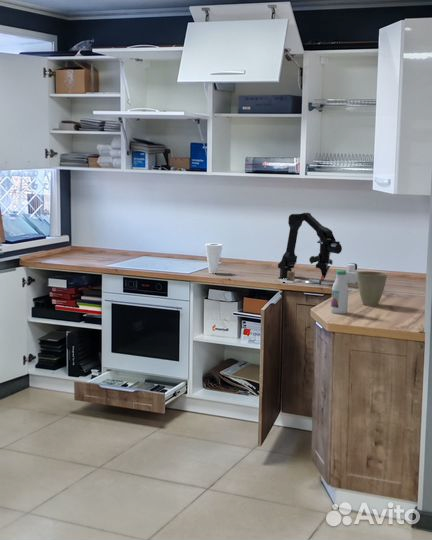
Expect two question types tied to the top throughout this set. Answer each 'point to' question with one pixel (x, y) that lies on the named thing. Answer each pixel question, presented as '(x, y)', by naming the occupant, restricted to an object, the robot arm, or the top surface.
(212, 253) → the cup
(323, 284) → the crank plate
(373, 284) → the plant pot
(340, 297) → the milk bottle
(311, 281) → the crank
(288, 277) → the block
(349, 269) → the medicine bottle
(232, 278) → the top surface
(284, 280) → the tray
